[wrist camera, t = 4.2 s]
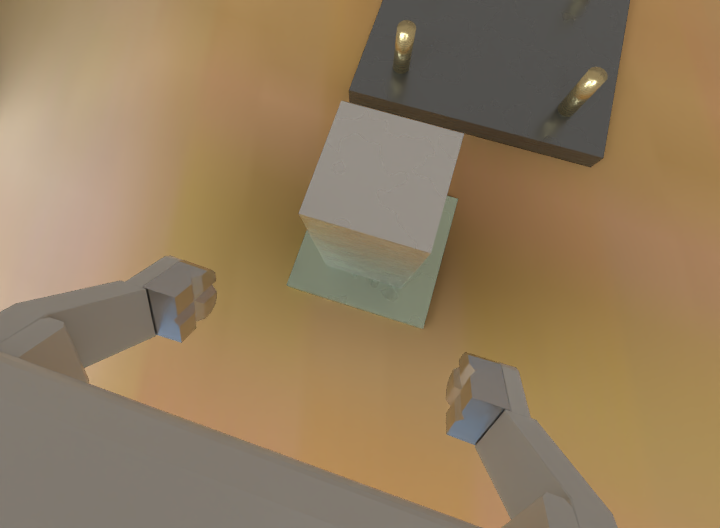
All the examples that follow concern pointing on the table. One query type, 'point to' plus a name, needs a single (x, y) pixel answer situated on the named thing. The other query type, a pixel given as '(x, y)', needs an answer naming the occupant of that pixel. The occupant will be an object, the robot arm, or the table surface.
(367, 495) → the robot arm
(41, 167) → the table surface
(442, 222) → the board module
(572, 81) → the mounting plate
